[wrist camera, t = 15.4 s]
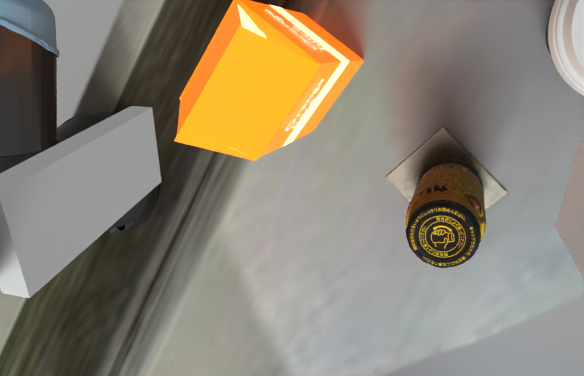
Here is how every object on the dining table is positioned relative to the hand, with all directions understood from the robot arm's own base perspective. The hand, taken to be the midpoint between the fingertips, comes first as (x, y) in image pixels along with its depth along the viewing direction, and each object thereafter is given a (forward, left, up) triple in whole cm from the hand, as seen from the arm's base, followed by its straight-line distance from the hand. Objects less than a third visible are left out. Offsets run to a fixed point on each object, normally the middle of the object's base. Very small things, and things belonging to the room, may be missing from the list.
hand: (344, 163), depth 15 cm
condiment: (+4, -8, -32) cm, 33 cm away
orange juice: (-12, -2, -31) cm, 34 cm away
